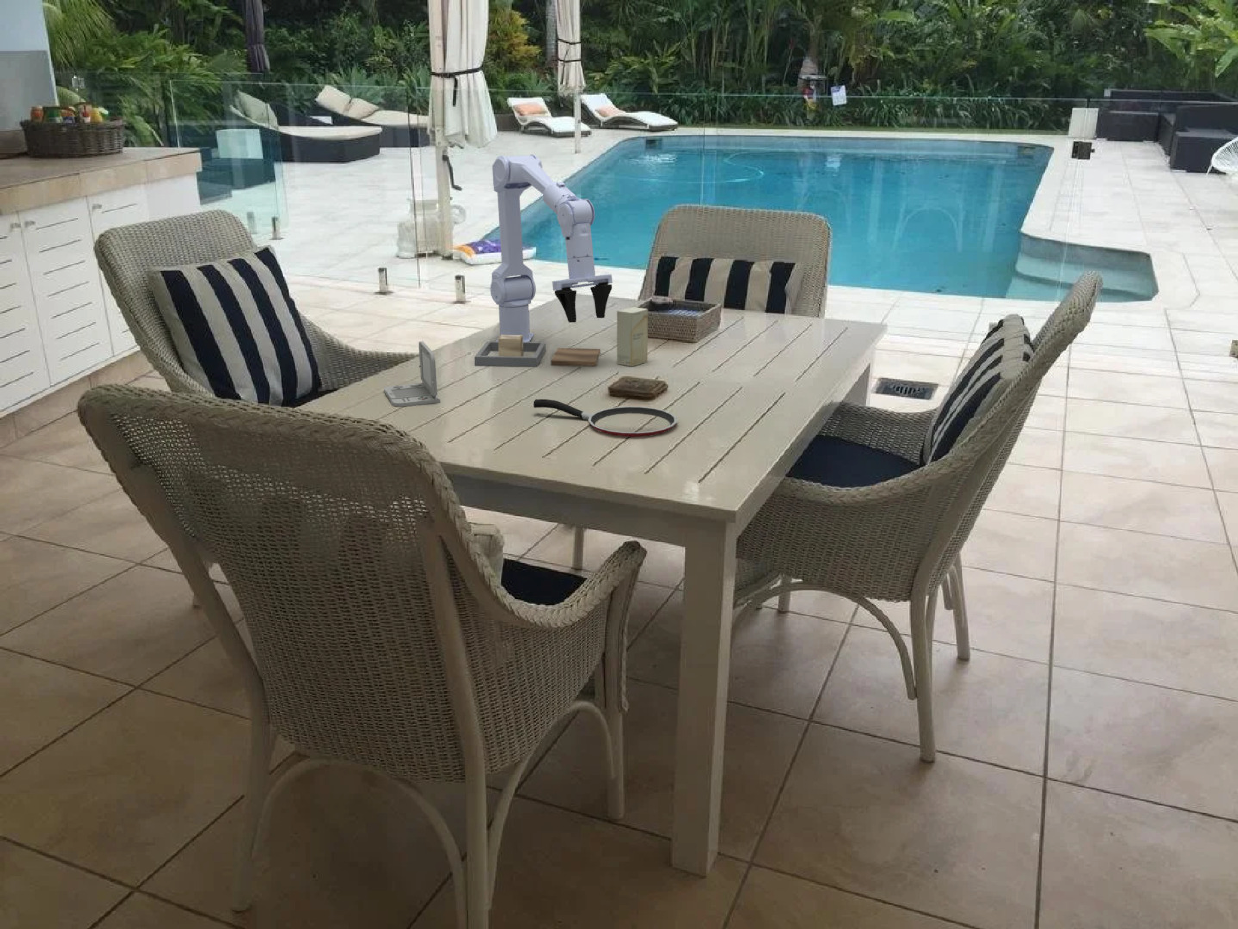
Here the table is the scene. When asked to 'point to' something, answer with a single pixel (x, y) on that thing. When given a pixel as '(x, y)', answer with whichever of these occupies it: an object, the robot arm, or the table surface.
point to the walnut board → (575, 357)
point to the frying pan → (608, 412)
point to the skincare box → (632, 336)
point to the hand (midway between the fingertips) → (586, 320)
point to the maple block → (510, 345)
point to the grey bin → (485, 360)
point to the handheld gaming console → (417, 391)
